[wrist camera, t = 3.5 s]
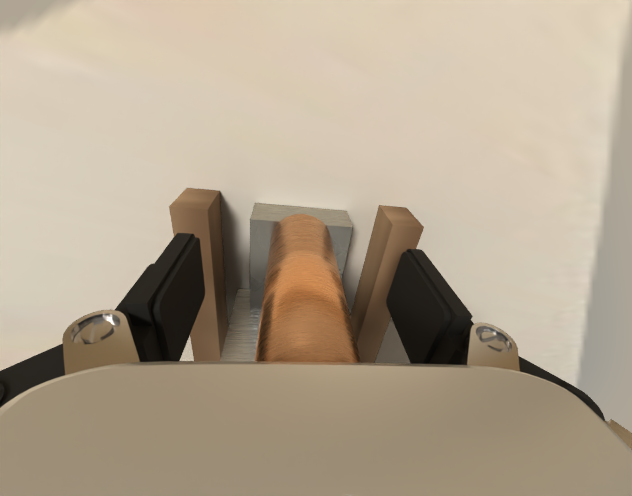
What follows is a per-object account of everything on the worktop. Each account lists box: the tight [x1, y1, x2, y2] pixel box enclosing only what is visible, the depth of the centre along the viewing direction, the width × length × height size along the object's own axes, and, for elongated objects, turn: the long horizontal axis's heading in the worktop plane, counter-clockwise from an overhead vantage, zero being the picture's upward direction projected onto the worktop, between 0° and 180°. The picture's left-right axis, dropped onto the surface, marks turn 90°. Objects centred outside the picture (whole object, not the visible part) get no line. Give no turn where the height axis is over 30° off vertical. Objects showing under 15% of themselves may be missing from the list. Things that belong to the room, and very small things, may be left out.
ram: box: [220, 203, 361, 363], centre depth 12 cm, size 7×8×11 cm
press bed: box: [169, 188, 424, 363], centre depth 17 cm, size 12×24×8 cm, turn 173°
